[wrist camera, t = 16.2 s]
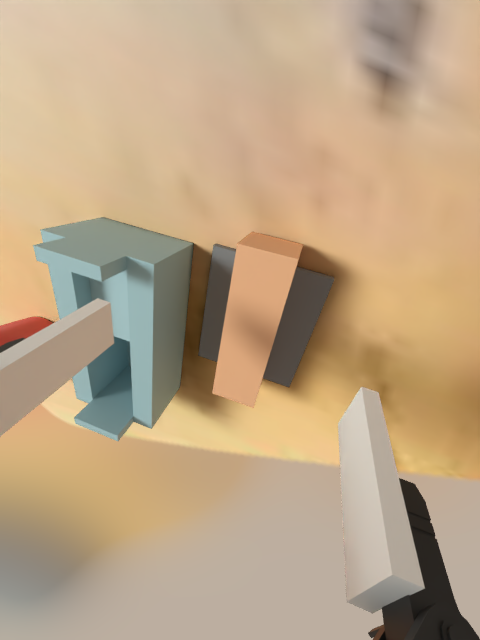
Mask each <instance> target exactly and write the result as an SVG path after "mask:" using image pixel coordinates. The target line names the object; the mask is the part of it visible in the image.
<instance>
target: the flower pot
mask: <svg viewBox="0 0 480 640" xmlns="http://www.w3.org/2000/svg"><path fill="white" fill-rule="evenodd" d="M51 324H53V323H52V322H51V321H49V320H47V319H44V318H41V317H30V318H26V319H22V320H19V321H15V322H11V323H8V324H5V325H1V326H0V346H2V345H4V344H5V343H7V342H10V341H14V340H17V339H20V338H25V339H26V338H28V337H30V336H32V335H33V334H35V333H37V332H39V331H40V330H42V329H44V328H46V327H48V326H49V325H51Z"/></svg>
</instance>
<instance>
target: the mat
mask: <svg viewBox="0 0 480 640" xmlns="http://www.w3.org/2000/svg"><path fill="white" fill-rule="evenodd" d="M235 254H236V249H233V248H230V247H226V246H222V245H219V244H215V245H213V252H212V260H211V267H210V274H209V282H208V289H207V296H206V303H205V311H204V318H203V325H202V332H201V340H200V347H199V354H198V356H201V357H204V358H207V359H210V360H212V361H215V362H217V361H218V355H219V349H220V344H221V338H222V332H223V326H224V320H225V314H226V308H227V302H228V296H229V290H230V284H231V278H232V272H233V266H234V260H235ZM333 282H334V277H332V276H328V275H325V274H321V273H318V272H314V271H311V270H307V269H304V268H300V267H296V270H295V273H294V277H293V280H292V283H291V287H290V290H289V293H288V297H287V300H286V303H285V306H284V310H283V313H282V316H281V320H280V323H279V326H278V329H277V333H276V336H275V339H274V343H273V346H272V349H271V352H270V356H269V359H268V362H267V366H266V369H265V372H264V375H263V378H264V379H266V380H269V381H272V382H275V383H278V384H281V385H284V386H286V387H290V384H291V382H292V380H293V377H294V375H295V372H296V370H297V368H298V365H299V363H300V360H301V358H302V356H303V353H304V351H305V349H306V346H307V344H308V341H309V339H310V337H311V334H312V332H313V329H314V327H315V325H316V322H317V320H318V317H319V315H320V313H321V310H322V308H323V306H324V303H325V301H326V298H327V296H328V294H329V291H330V289H331V286H332V284H333Z"/></svg>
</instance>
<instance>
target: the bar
mask: <svg viewBox="0 0 480 640" xmlns="http://www.w3.org/2000/svg"><path fill="white" fill-rule="evenodd" d="M302 247H303V244H299V243H295V242H291V241H287V240H283V239H279V238H275V237H271V236H267V235H263V234H259V233H255V232H251V233H250V234H249V235H247V236H246V237H245V238H244V239H242V240H241V241H240V242H239V243H237V248H236V254H235V260H234V266H233V272H232V278H231V284H230V290H229V296H228V302H227V308H226V314H225V320H224V326H223V332H222V338H221V344H220V349H219V355H218V361H217V367H216V373H215V379H214V385H213V391H212V393H213V394H216V395H219V396H221V397H224V398H227V399H230V400H233V401H235V402H238V403H241V404H244V405H247V406H249V407H252V408H254V405H255V401H256V398H257V395H258V392H259V388H260V385H261V382H262V379H263V375H264V372H265V369H266V366H267V362H268V359H269V356H270V352H271V349H272V346H273V343H274V339H275V336H276V333H277V329H278V326H279V323H280V320H281V316H282V313H283V310H284V306H285V303H286V300H287V297H288V293H289V290H290V287H291V283H292V280H293V277H294V273H295V270H296V267H297V264H298V260H299V257H300V254H301V250H302Z"/></svg>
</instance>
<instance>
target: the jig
mask: <svg viewBox="0 0 480 640" xmlns="http://www.w3.org/2000/svg"><path fill="white" fill-rule="evenodd" d="M41 234H42V239H43V243H41V244H37V245H33V246H34V251H35V255H36V259H37V261H40V262H43V263H46V264H48V267H49V272H50V276H51V281H52V285H53V290H54V295H55V299H56V304H57V309H58V313H59V318H60V319H62V318H64V317H65V316H67V315H69V314H71V313H72V312H74V311H76V310H78V309H80V308H81V307H83V306H85V305H87V304H88V303H90V302H92V301H94V300H96V299H97V298H98V299H101V300H104V301H107V302H110V304H111V315H112V325H113V336H114V344H112V345H111V346H110V347H109V348H108V349H106V350H105V351H104V352H103V353H102V354H100V355H99V356H98V357H97V358H95V359H94V360H93V361H92V362H91V363H89V364H88V365H87V366H86V367H84V368H83V369H82V370H81V371H80V372H78V373H77V374H76V375H75V376H73V377H72V378H73V383H74V388H75V392H76V397H77V399H79V400H82V401H84V402H87V403H89V404H88V405H87V406H86V407H85V408H84V409H83V410H82V411H81V412H80V413H79V414H78V415H76V416H75V417H74V419H75V423H76V424H78V425H80V426H83V427H85V428H87V429H90V430H92V431H95V432H97V433H99V434H102V435H104V436H106V437H109V438H111V439H114V440H116V441H119V440H120V438H121V437H122V436H123V434H124V433H125V432H126V431H127V429H128V428H129V427H130V425H131V424H132V423H133V421H134V422H136V423H138V424H141V425H143V426H146V427H148V428H151V429H152V427H153V426H154V425H155V423H156V422H157V420H158V419H159V417H160V416H161V414H162V413H163V411H164V410H165V408H166V407H167V405H168V404H169V403H170V401H171V400H172V398H173V397H174V395H175V394H176V392H177V391H178V389H179V388H180V381H181V370H182V360H183V350H184V339H185V329H186V318H187V308H188V297H189V287H190V277H191V266H192V256H193V245H194V243H191V242H188V241H184V240H181V239H177V238H174V237H170V236H167V235H163V234H160V233H156V232H153V231H149V230H146V229H142V228H139V227H135V226H132V225H128V224H125V223H121V222H118V221H114V220H111V219H107V218H104V217H102V218H97V219H92V220H87V221H82V222H77V223H72V224H67V225H62V226H56V227H51V228H46V229H41Z"/></svg>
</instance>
